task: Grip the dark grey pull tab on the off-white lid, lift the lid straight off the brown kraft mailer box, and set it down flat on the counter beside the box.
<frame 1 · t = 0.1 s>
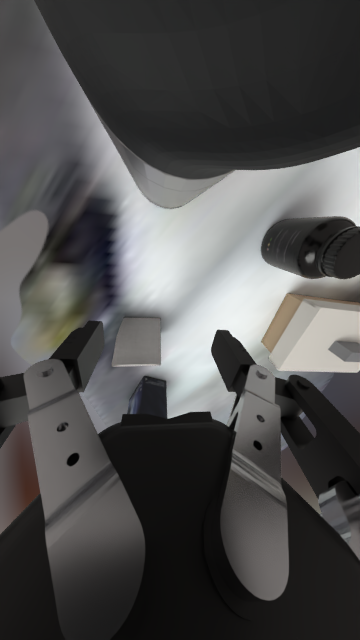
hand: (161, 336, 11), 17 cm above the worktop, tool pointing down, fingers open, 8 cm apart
printed product carton: (142, 325, 31), on the worktop
mailer lid: (326, 335, 32), point 4 cm above the worktop, touching mailer box
mailer box: (308, 322, 35), on the worktop
supplement bottle: (279, 243, 26), on the worktop
small box: (147, 389, 41), on the worktop
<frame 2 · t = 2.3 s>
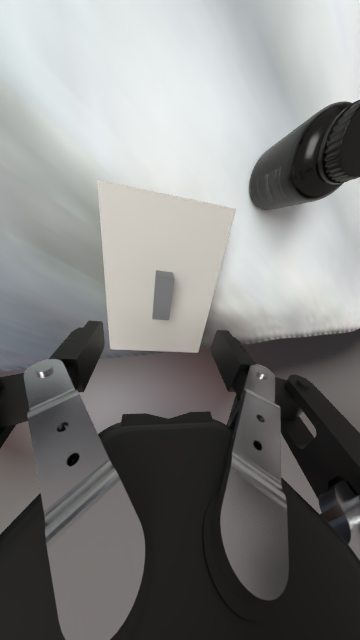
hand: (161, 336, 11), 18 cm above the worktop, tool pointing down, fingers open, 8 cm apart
mailer lid: (161, 283, 23), point 4 cm above the worktop, touching mailer box
supplement bottle: (270, 181, 22), on the worktop
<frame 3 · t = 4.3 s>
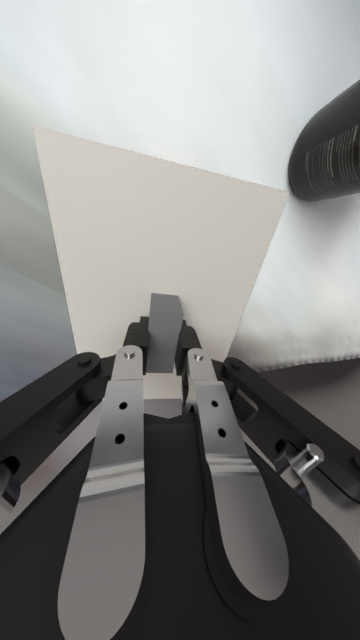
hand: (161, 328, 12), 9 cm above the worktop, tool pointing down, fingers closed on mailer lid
mailer lid: (160, 306, 16), point 5 cm above the worktop, touching gripper, mailer box
supplement bottle: (318, 159, 15), on the worktop
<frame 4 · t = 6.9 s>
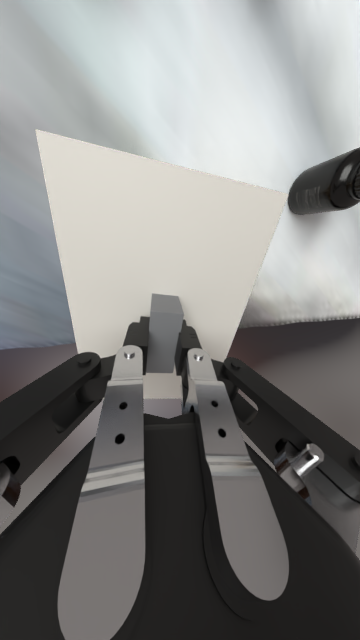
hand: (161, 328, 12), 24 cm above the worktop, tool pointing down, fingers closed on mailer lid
mailer lid: (161, 306, 16), point 20 cm above the worktop, touching gripper
supplement bottle: (304, 192, 29), on the worktop
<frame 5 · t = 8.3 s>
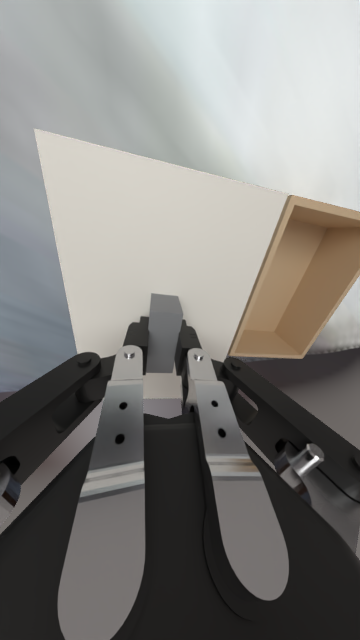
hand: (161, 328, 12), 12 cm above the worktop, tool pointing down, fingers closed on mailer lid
mailer lid: (160, 306, 16), point 8 cm above the worktop, touching gripper
mailer box: (264, 282, 25), on the worktop
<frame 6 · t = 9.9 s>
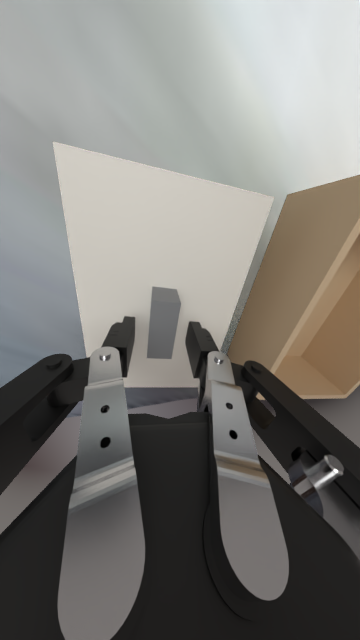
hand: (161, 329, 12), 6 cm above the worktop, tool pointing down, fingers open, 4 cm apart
mailer lid: (160, 300, 17), on the worktop
mailer box: (295, 298, 19), on the worktop
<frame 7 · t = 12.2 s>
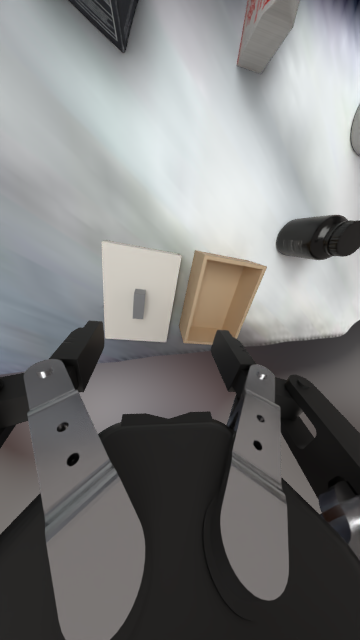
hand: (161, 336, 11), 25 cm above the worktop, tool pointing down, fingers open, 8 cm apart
printed product carton: (256, 29, 20), on the worktop
mailer lid: (140, 295, 35), on the worktop
mailer box: (210, 295, 38), on the worktop
supplement bottle: (289, 237, 34), on the worktop
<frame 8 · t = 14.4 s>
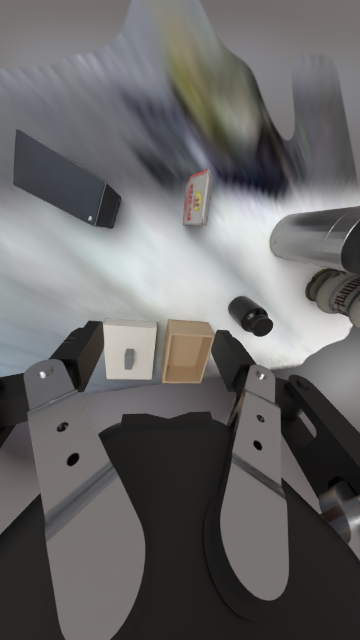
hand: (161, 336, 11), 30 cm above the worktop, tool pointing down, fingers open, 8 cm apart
apothecary jar: (321, 285, 46), on the worktop
printed product carton: (192, 206, 33), on the worktop
mailer lid: (131, 348, 48), on the worktop
mailer box: (183, 345, 50), on the worktop
supplement bottle: (238, 306, 46), on the worktop
small box: (90, 197, 30), on the worktop
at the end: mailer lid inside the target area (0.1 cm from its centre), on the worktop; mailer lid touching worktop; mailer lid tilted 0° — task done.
